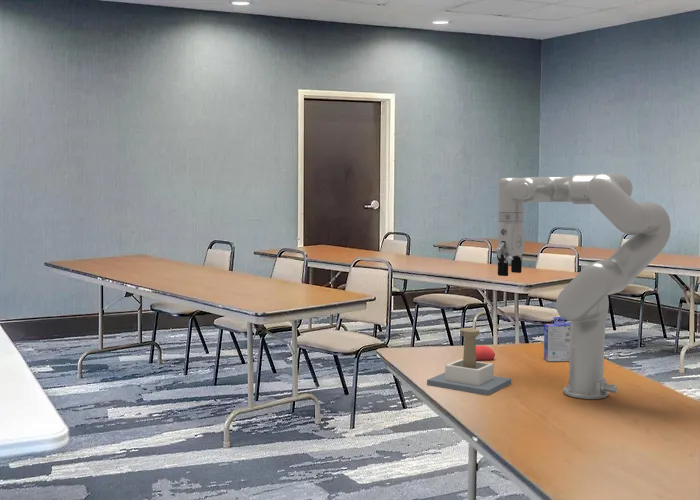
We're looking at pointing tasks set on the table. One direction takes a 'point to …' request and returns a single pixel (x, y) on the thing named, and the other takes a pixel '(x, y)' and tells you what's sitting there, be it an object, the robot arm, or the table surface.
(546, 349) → the ink cartridge box
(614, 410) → the table surface
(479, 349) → the red bean shape
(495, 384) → the socket
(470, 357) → the handle
